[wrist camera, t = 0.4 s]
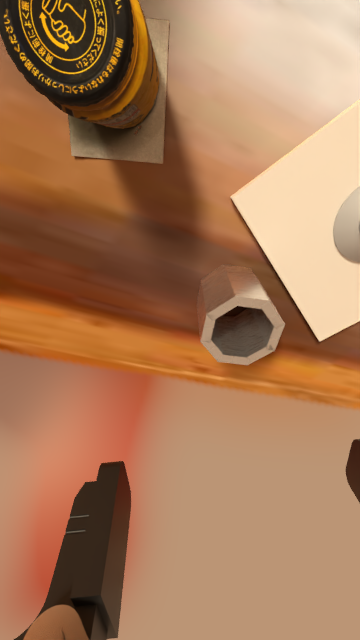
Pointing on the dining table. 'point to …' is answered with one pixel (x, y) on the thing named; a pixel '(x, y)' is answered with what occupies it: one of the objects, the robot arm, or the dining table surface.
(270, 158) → the dining table surface
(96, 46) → the condiment
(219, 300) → the collar
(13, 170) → the dining table surface
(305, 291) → the duct flange
